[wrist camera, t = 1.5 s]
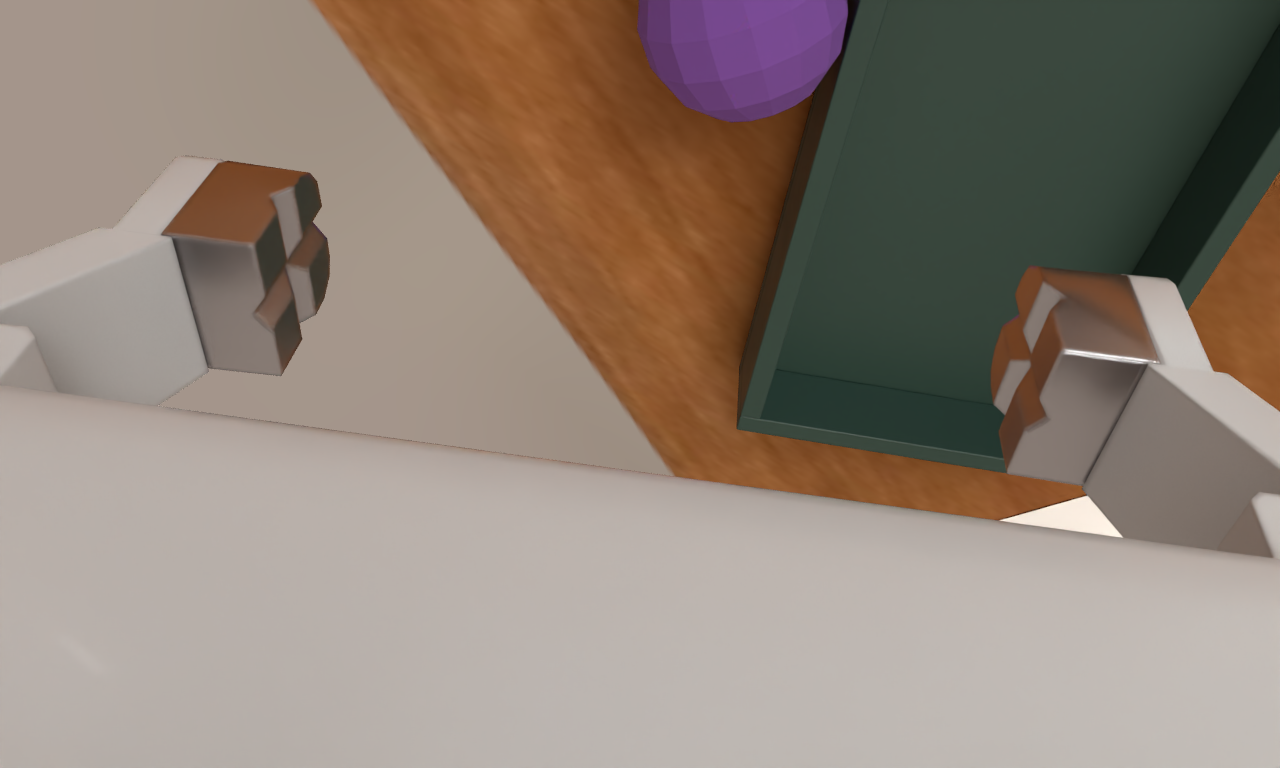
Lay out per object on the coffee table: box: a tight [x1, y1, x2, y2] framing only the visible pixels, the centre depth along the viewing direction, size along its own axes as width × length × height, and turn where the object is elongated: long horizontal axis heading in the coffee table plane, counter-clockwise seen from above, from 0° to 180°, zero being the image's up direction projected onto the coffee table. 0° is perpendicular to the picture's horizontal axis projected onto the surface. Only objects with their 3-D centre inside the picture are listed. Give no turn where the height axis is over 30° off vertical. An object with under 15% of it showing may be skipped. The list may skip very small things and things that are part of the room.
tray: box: [737, 0, 1280, 473], centre depth 34 cm, size 26×14×4 cm, turn 173°
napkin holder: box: [1000, 496, 1123, 538], centre depth 48 cm, size 15×11×6 cm
